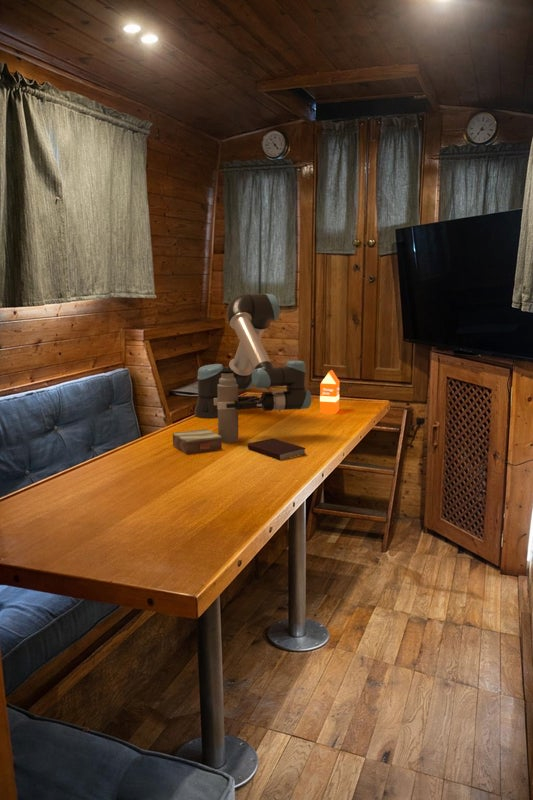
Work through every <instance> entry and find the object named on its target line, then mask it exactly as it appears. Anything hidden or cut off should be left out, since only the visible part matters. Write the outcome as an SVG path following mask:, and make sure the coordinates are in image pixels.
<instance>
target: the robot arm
mask: <svg viewBox="0 0 533 800" xmlns="http://www.w3.org/2000/svg"><path fill="white" fill-rule="evenodd" d="M226 310H227V311H226V318H227V323H228V324H229V327H231V329H233V330H234V331H235V334H236V336H237V338H238V340H239V343H238V346H237V350H236V352H235V355H234V357H233V358H232V359H231V360H230V361H229V364H228V366H223V364H221V363H214V364H206V365H203V366H200V367H199V368H198V370H197V402H196V404H195V408H194V416H195V415H196V416H195V417H198V418H201V419H203V418H204V419H215V418H217V419H218V409H238V411H240V410H252V409H262V411H263V412H267V411H268V412H269V411H278V412H281V411H286V410H287V411H288V410H299V411H300V410H307V409H309V408H310V407H311V405H312V393H311V391H310V390H308V389H306V370H307V369H306V362H305V361H303V360H288V361H286V365H285V366H278V367H277V366H276V367H275V366H274V364H273V363H272V362H271V360H270V359H271V358H270V357H269V355H268V352H267V351H266V349H265V347H264V345H263V343H262V341H261V340H262V338H263V335H264V331H265V330H268V329H269V328H270V326H271V323H272V322H275V321H277V320H279V318H280V313H281V311H280V310H281V309H280V304H279V301H278V298H277V297H276V295H275V294H272V293H270V294H269V293H247V294H246V293H240V294H238V295H236V296H235V297H234V298H232V299H231V301H230V302H229V304H228V306H227V309H226ZM222 370H233V371H234V373H233V374H234V378H235V379H236V384H238V392H240V391H246V390H249V389H251V388H252V387H255V388H258V389H267V388H273V387H286V390H280V391H279V390H278V391H263V392H261V397H258V395H241V396H240V395H238V402H237V400H235V404H234V401H233V402H218V388H217V385H218V384H219V379H220V378H221V374H222V373H221V371H222Z"/></svg>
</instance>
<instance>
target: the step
mask: <svg viewBox="0 0 533 800" xmlns="http://www.w3.org/2000/svg"><path fill="white" fill-rule="evenodd" d="M222 444H223V443H222V436H220V435H218V433H215V432H213V431H212V430H210V429H208V428H203V429H195V430H187V431H179V432H172V447H174V448H175V449H178V450H179V451H181V452H182V453H184V454H186V455H191V454H198V453H206V452H213V451H220V450H223V449H222V448H223V445H222Z"/></svg>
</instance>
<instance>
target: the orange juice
mask: <svg viewBox="0 0 533 800" xmlns="http://www.w3.org/2000/svg"><path fill="white" fill-rule="evenodd" d="M340 382H341V381H340V379H339V378H338V377H337V375H336V374H335V372H334V370H333V369H331V370H329V371H328V372H327V374H326V376H325V377H324V378H323V380H322V381H321V382H320V386H319V387H320V388H319V389H320V391H319V392H320V393H319V414H320V413H323V414H322V415H332V414H336V413H337V412H338V411H340ZM338 413H339V412H338ZM338 413H337V414H338ZM337 414H336V415H337Z"/></svg>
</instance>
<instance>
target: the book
mask: <svg viewBox="0 0 533 800" xmlns="http://www.w3.org/2000/svg"><path fill="white" fill-rule="evenodd" d="M247 449H248V450H250V451H252V452H255V453H258V454H261V455H264V456H266V457H270V458H271V457H272V459H274V458H275V460H277V461H282V459H283V460H287V459H286V458H289V459H291V458H290V457H294V456H298V455H303V456H305V455H304V454H306V447H305V446H300V445H297V444H293V443H290V442H287V441H283V440H280V439H277V438H268V439H262V440H257V441H253V442H249V443H247ZM298 457H299V456H298ZM294 458H295V457H294Z"/></svg>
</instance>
